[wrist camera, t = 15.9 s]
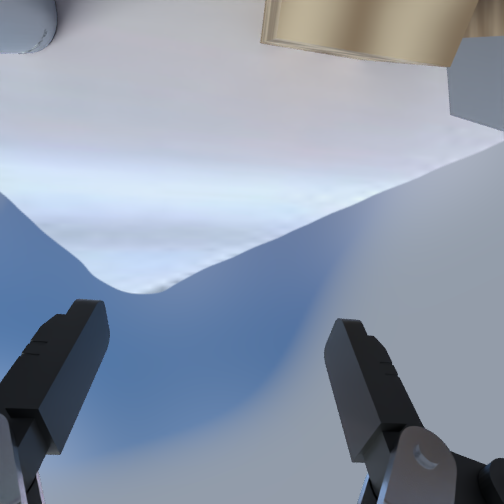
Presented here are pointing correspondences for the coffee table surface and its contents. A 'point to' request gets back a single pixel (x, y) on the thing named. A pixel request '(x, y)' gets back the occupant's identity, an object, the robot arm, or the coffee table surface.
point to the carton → (371, 28)
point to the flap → (480, 68)
